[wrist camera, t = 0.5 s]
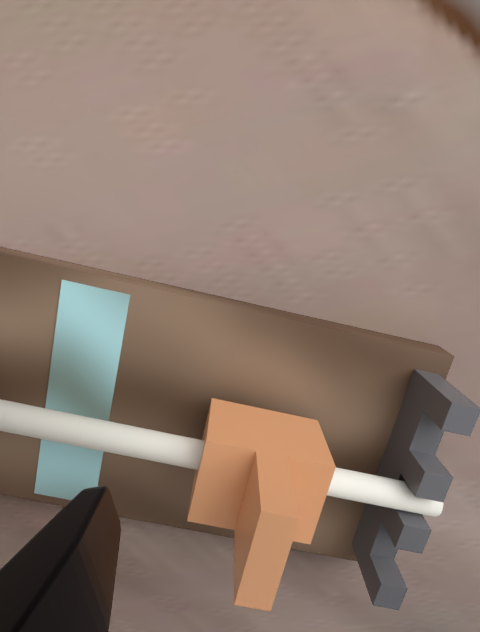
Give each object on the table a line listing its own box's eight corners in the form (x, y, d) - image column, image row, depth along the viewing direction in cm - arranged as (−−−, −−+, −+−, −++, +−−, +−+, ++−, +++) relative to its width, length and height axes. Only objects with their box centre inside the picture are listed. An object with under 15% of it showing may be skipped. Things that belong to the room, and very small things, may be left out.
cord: (424, 504, 19) (436, 523, 18) (-21, 415, 18) (-39, 429, 17) (433, 481, 19) (446, 499, 18) (-19, 389, 17) (-37, 402, 16)
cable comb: (373, 547, 22) (398, 609, 18) (351, 543, 22) (373, 605, 18) (438, 374, 19) (481, 409, 16) (414, 368, 19) (452, 402, 16)
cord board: (366, 542, 24) (375, 565, 22) (-48, 463, 22) (-69, 482, 21) (438, 346, 21) (455, 357, 19) (-32, 239, 19) (-56, 242, 18)
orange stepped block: (297, 486, 20) (327, 621, 13) (195, 466, 20) (175, 594, 13) (317, 420, 19) (360, 530, 13) (211, 398, 19) (198, 499, 12)
